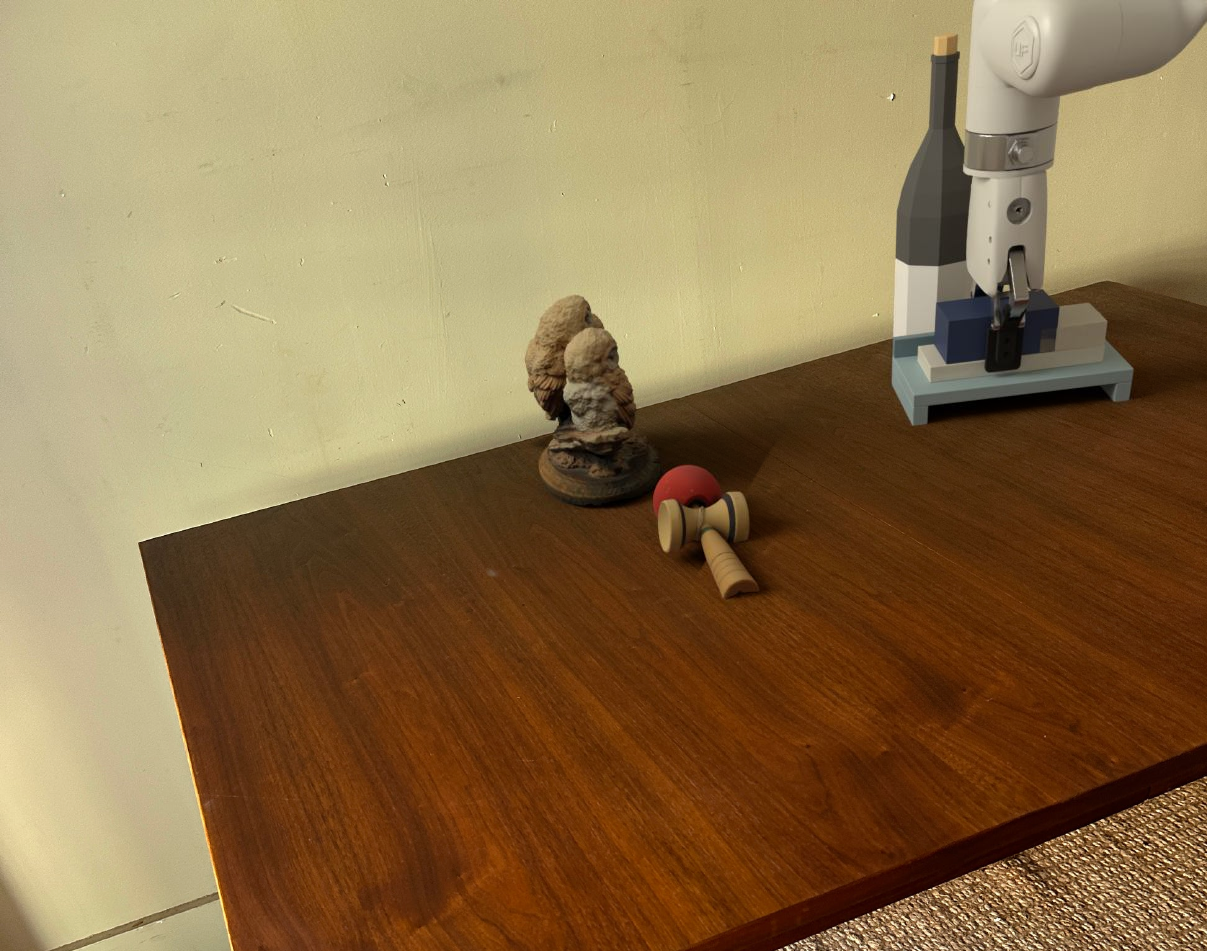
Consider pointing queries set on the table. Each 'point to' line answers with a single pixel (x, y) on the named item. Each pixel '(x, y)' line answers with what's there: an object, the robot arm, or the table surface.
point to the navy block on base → (1046, 338)
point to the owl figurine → (587, 410)
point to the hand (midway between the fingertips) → (993, 355)
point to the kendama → (704, 523)
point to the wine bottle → (933, 208)
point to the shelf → (997, 379)
